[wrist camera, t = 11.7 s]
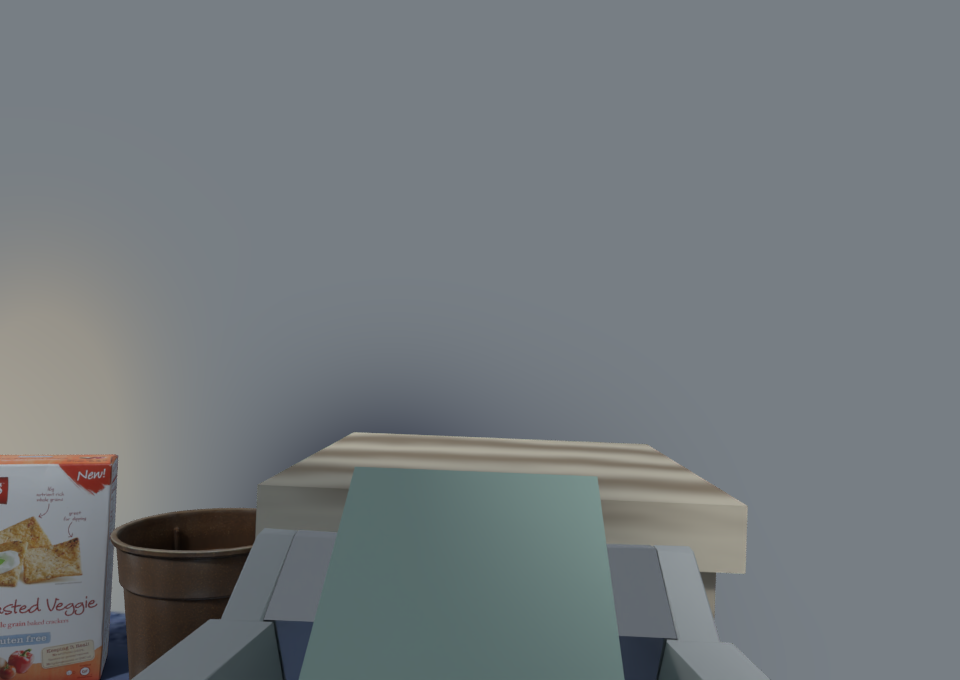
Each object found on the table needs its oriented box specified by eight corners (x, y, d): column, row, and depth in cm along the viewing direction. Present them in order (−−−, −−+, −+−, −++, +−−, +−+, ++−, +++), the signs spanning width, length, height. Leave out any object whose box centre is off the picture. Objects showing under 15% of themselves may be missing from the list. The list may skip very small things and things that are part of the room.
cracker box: (-78, 703, 64) (-66, 462, 64) (-55, 674, 69) (-44, 453, 70) (102, 683, 68) (112, 460, 69) (109, 657, 74) (119, 451, 74)
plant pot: (55, 732, 60) (64, 535, 60) (193, 657, 75) (200, 500, 75) (219, 778, 54) (228, 560, 55) (332, 687, 69) (339, 517, 70)
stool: (728, 1100, 32) (747, 506, 32) (232, 1068, 33) (257, 485, 33) (634, 796, 54) (646, 444, 54) (339, 780, 55) (353, 432, 55)
